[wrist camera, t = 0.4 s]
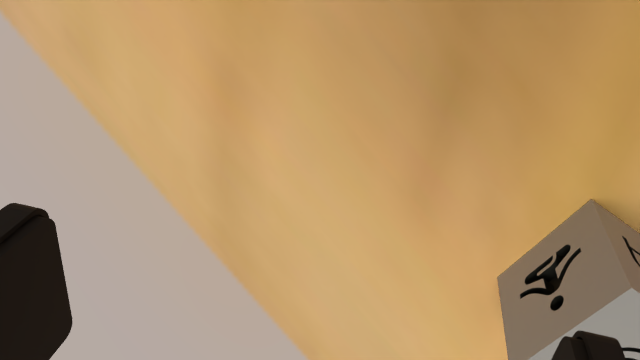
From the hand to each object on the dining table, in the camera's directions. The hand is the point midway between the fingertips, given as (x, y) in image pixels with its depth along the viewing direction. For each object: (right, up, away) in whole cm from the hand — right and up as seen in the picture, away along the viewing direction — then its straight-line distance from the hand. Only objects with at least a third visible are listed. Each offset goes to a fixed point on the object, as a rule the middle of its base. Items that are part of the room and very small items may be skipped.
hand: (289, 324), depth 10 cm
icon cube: (+22, -5, +33) cm, 40 cm away
